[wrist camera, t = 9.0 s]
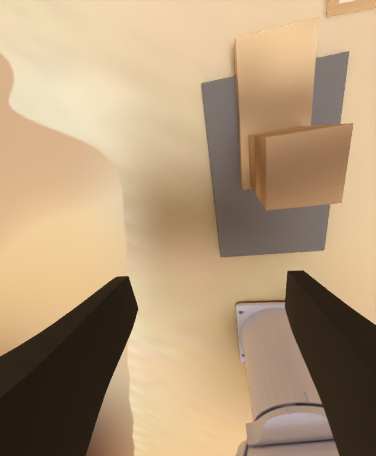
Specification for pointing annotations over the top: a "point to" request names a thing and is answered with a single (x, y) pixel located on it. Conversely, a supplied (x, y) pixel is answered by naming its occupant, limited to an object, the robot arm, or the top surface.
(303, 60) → the brown l-shaped block
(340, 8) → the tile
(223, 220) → the mat
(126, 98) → the top surface
